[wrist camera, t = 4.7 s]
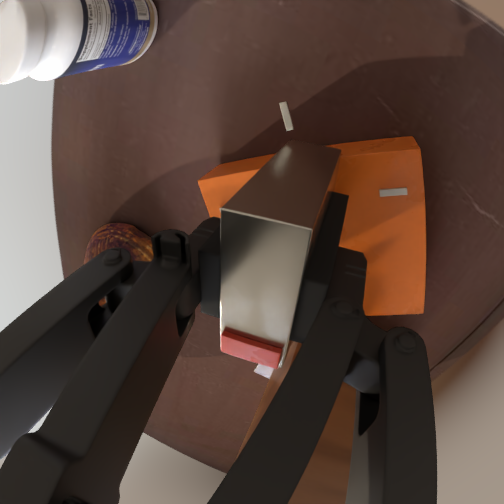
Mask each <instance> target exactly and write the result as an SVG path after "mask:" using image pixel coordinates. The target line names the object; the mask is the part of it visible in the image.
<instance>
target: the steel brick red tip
mask: <svg viewBox="0 0 504 504" xmlns="http://www.w3.org/2000/svg"><path fill="white" fill-rule="evenodd" d="M341 152H342V150H341V149H337V148H332V147H327V146H323V145H318V144H313V143H308V142H303V141H297V140H292V139H291V140H290V141H289V142H288V143H287V144H286V145H285V146H283V147H282V148H281V149H280V150H279V151H278V152H277V153H276V154H275V155H274V156H273V157H272V158H271V159H270V160H269V161H268V162H267V163H266V164H265V165H264V166H263V167H262V168H261V169H260V170H259V171H258V172H257V173H256V174H255V175H254V176H253V177H252V178H251V179H250V180H249V181H248V182H247V183H246V184H245V185H244V186H243V187H242V188H240V190H239V191H238V192H237V193H236V194H235V195H234V196H233V197H232V198H231V199H230V200H229V201H228V202H227V203H226V204H225V205H224V206H223V207H222V208H221V225H220V348H221V351H222V352H224V353H227V354H230V355H233V356H236V357H239V358H242V359H245V360H248V361H251V362H255V363H258V364H261V365H264V366H267V367H271V368H274V369H278V367H279V368H282V367H283V365H284V362H285V360H286V357H287V354H288V351H289V349H290V346H291V343H292V341H291V340H290V336H291V331H292V327H293V323H294V318H295V314H296V310H297V305H298V301H299V296H300V291H301V287H302V282H303V278H304V275H305V272H306V270H307V267H308V264H309V261H310V258H311V255H312V253H313V250H314V247H315V244H316V241H317V238H318V235H319V232H320V229H321V226H322V223H323V220H324V217H325V214H326V211H327V208H328V205H329V202H330V199H331V196H332V193H333V192H334V190H335V185H336V179H337V174H338V169H339V163H340V158H341Z"/></svg>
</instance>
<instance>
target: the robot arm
mask: <svg viewBox="0 0 504 504" xmlns="http://www.w3.org/2000/svg"><path fill="white" fill-rule="evenodd" d="M348 199H349V195H345V194H341V193H337V192H333V193H332V196H331V199H330V202H329V205H328V208H327V211H326V214H325V217H324V220H323V223H322V226H321V229H320V232H319V235H318V238H317V241H316V244H315V247H314V250H313V253H312V255H311V258H310V261H309V264H308V267H307V270H306V272H305V275H304V278H303V282H302V287H301V291H300V296H299V301H298V305H297V310H296V314H295V318H294V323H293V327H292V331H291V336H290V340H291V341H295V342H298V343H302V346H301V348H300V349H299V351H298V353H297V355H296V357H295V359H294V361H293V363H292V365H291V367H290V368H289V370H288V372H287V374H286V376H285V378H284V379H283V381H282V383H281V385H280V387H279V388H278V390H277V392H276V394H275V396H274V397H273V399H272V401H271V403H270V404H269V406H268V408H267V410H266V411H265V413H264V415H263V416H262V418H261V420H260V422H259V423H258V425H257V427H256V428H255V430H254V432H253V433H252V435H251V437H250V438H249V440H248V442H247V443H246V445H245V446H244V448H243V450H242V451H241V453H240V454H239V456H238V458H237V459H236V461H235V462H234V464H233V465H232V467H231V469H230V470H229V472H228V473H227V475H226V476H225V478H224V479H223V481H222V482H221V484H220V486H219V487H218V488H217V490H216V491H215V493H214V494H213V496H212V497H211V499H210V500H209V502H208V503H207V504H288V502H289V500H290V499H291V497H292V495H293V493H294V491H295V489H296V487H297V485H298V483H299V481H300V479H301V477H302V475H303V473H304V471H305V469H306V467H307V465H308V463H309V461H310V459H311V456H312V454H313V452H314V450H315V448H316V446H317V443H318V441H319V439H320V437H321V434H322V432H323V430H324V427H325V425H326V423H327V420H328V418H329V416H330V413H331V411H332V408H333V406H334V403H335V401H336V398H337V396H338V393H339V391H340V388H341V385H342V383H343V382H345V383H347V384H348V385H350V386H352V387H353V388H355V389H356V401H355V417H354V431H353V442H352V453H351V462H350V471H349V479H348V487H347V494H346V501H345V504H437V451H436V431H435V417H434V406H433V396H432V388H431V379H430V372H429V365H428V358H427V352H426V346H425V344H424V341H423V339H422V338H421V337H420V336H419V334H417V333H416V332H414V331H413V330H411V329H408V328H405V327H395V328H392V329H390V330H389V331H388V332H386V331H384V330H383V329H381V328H379V327H377V326H376V325H374V324H373V323H372V322H371V321H370V320H369V319H368V318H367V317H366V315H365V312H364V310H363V300H364V291H365V282H366V271H367V260H366V258H365V256H364V254H363V253H362V252H359V251H355V250H351V249H347V248H343V247H340V246H339V242H340V237H341V232H342V228H343V223H344V218H345V214H346V209H347V204H348ZM220 225H221V218H218V217H214V216H213V217H211V218H209V219H207V220H205V221H203V222H202V223H201V224H200V225H199V226H198V227H197V229H195V230H194V231H193V232H192V234H190V235H188V234H186V233H185V232H183V231H180V230H172V229H169V230H163V231H160V232H158V233H155V234H154V235H153V236H152V237H151V242H152V250H153V257H154V258H153V259H152V261H134V260H132V257H131V254H130V252H129V251H128V250H127V249H124V248H120V247H117V248H110V249H106V250H105V251H103V252H101V253H99V254H98V255H97V256H95V257H94V258H93V259H91V260H90V261H88V262H87V263H86V264H84V265H83V266H82V267H80V268H79V269H78V270H76V271H75V272H74V273H72V274H71V275H70V276H69V277H67V278H66V279H65V280H63V281H62V282H61V283H59V284H58V285H57V286H56V287H54V288H53V289H52V290H51V291H49V292H48V293H47V294H46V295H44V296H43V297H42V298H41V299H39V300H38V301H37V302H36V303H34V304H33V305H32V306H31V307H30V308H28V309H27V310H26V311H25V312H24V313H22V314H21V315H20V316H19V317H18V318H16V319H15V320H14V321H13V322H12V323H11V324H9V325H8V326H7V327H6V328H5V329H4V330H2V331H1V332H0V459H2V458H3V457H4V456H6V454H8V453H9V454H8V455H7V457H6V459H5V461H4V463H3V465H2V467H1V469H0V504H118V503H119V498H120V494H119V487H120V483H121V480H122V478H123V476H124V473H125V471H126V469H127V466H128V464H129V462H130V460H131V458H132V455H133V453H134V451H135V448H136V446H137V444H138V442H139V439H140V437H141V435H142V433H143V431H144V428H145V426H146V424H147V422H148V419H149V417H150V415H151V413H152V411H153V408H154V406H155V404H156V402H157V400H158V397H159V395H160V393H161V391H162V389H163V387H164V384H165V382H166V380H167V378H168V376H169V374H170V371H171V369H172V367H173V365H174V363H175V361H176V359H177V356H178V354H179V352H180V350H181V348H182V346H183V344H184V341H185V339H186V337H187V335H188V333H189V331H190V329H191V327H192V325H193V322H194V319H195V308H196V307H197V306H198V304H199V303H201V312H202V313H205V314H208V315H211V316H214V317H217V318H220ZM104 297H105V300H106V303H105V304H104V305H102V306H100V304H99V301H100V300H101V299H102V298H104ZM51 408H52V409H51ZM50 409H51V410H50ZM49 410H50V412H49V414H48V416H47V417H46V419H45V421H44V423H43V424H42V426H41V427H40V429H39V430H38V431H36V432H34V433H28V432H29V431H30V430H31V429H32V428H33V427H34V425H35V424H36V423H37V422H38V421H39V420H40V419H41V418H42V417H43V416H44V415H45V414H46V413H47V412H48V411H49Z"/></svg>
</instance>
